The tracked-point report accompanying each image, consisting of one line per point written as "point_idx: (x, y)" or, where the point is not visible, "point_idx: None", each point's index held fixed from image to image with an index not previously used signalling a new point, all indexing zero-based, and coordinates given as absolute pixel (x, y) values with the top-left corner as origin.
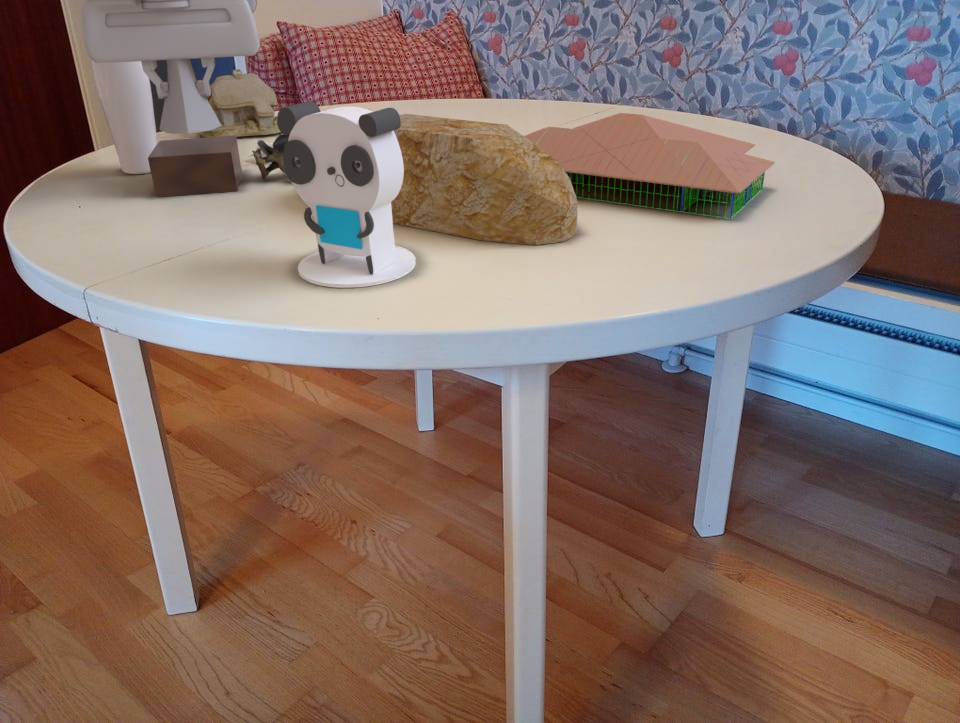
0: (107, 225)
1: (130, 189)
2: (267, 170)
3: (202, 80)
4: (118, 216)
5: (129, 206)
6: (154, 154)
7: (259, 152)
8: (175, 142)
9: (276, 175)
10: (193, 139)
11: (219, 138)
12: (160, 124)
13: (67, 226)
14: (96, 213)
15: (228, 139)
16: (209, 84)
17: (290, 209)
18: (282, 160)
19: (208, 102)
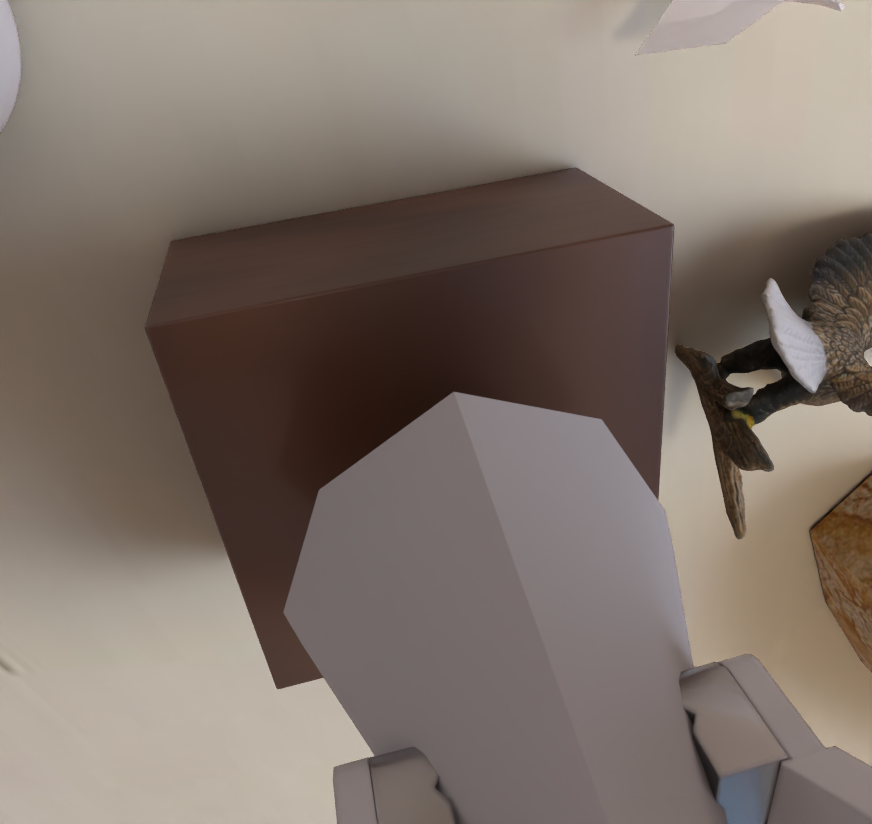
0: (237, 783)
1: (76, 447)
2: (727, 374)
3: (768, 777)
4: (229, 725)
5: (213, 645)
6: (287, 644)
7: (757, 456)
8: (299, 395)
9: (738, 251)
10: (400, 316)
11: (573, 307)
12: (300, 640)
13: (106, 804)
14: (126, 711)
15: (631, 341)
16: (796, 712)
17: (739, 638)
18: (822, 403)
19: (687, 641)
